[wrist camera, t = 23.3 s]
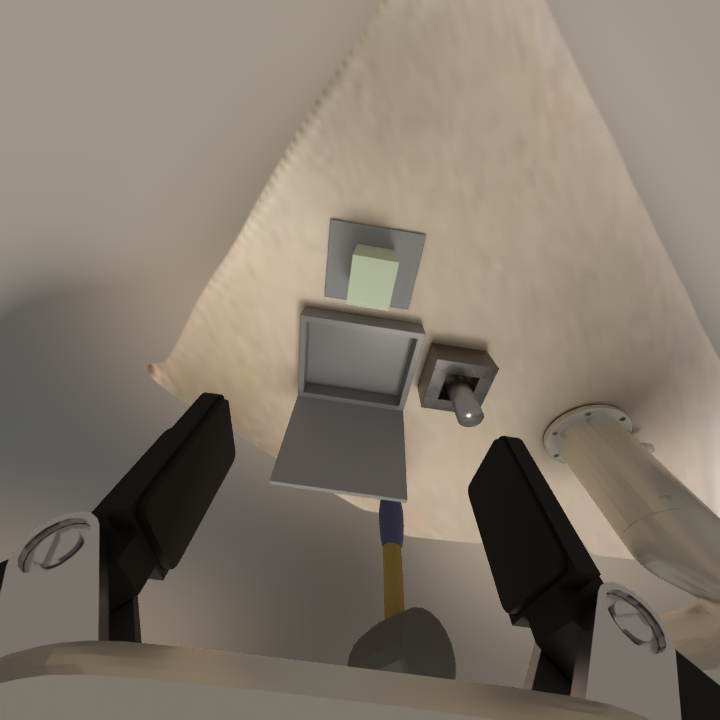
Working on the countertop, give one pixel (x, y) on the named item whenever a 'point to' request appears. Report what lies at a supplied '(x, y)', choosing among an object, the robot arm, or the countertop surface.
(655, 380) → the countertop surface
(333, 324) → the case
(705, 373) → the countertop surface
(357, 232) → the mat
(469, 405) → the rod
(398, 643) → the rubber mallet
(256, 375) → the countertop surface
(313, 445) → the lid
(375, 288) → the block
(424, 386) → the square socket block
